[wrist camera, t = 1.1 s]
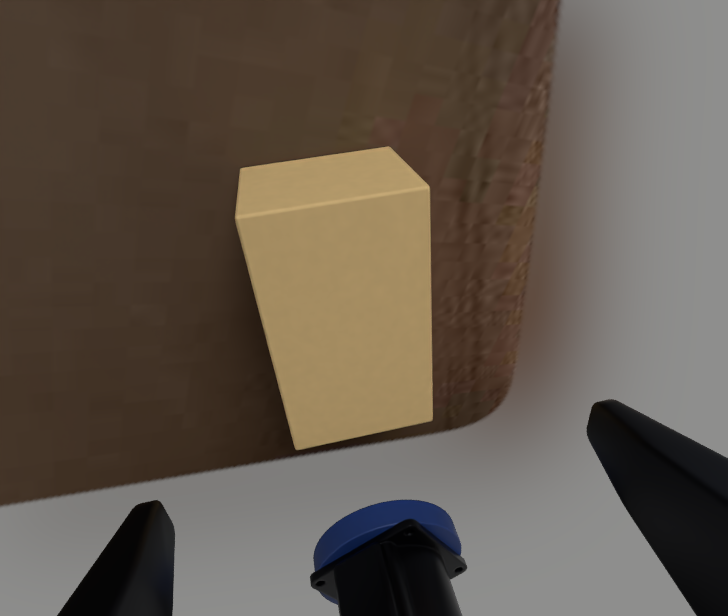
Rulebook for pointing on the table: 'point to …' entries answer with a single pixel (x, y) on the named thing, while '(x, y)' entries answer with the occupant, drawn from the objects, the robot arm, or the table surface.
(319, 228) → the tan block
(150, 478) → the table surface
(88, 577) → the robot arm
